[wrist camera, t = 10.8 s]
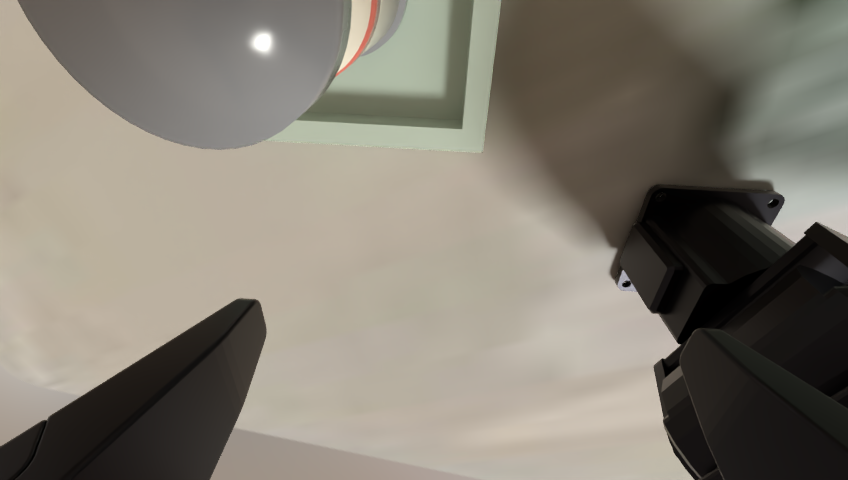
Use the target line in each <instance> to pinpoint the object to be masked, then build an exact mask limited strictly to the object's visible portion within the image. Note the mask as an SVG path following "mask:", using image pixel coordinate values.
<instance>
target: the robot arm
mask: <svg viewBox="0 0 848 480" xmlns="http://www.w3.org/2000/svg"><path fill="white" fill-rule="evenodd" d="M662 192H663V194H662V195H661V197H659V198H656V196H657V194H659V193H662ZM771 200H773V201H772V202H771V203H769V201H771ZM784 201H785V200H784V197H783V196H782V195H780V194H779V193H777V192H775V191H764V190H746V189H729V188H711V187H693V186H676V185H656V186H654V187H652V188H651V189H650V190H649V191H648V193H647V195H646V198H645V201H644V203H643V206H642V209H641V212H640V214H639V217H638V220H637V222H636V223H635V224H634V225H633V226H632V229H631V231H630V234H629V237H628V240H627V242H626V245H625V248H624V251H623V253H622V256H621V259H620V262H619V263H620V268H619V271H618V274H617V276H616V279H615V283H616V285H617V286H618V288H619V289H620V290H623V291H635V292H638V294H639V295H640V297H641V298H642V300H643V301H644V303H645V305H646V306H647V308H648V309H649V310H650V312H651V313H653V314H659V315H660V317H661V318H662V320H663V322H664V323H665V325H666V326H667V328H668V329H669V331H670V332H671V334H672V335H673V337H674V338H675V340H676V341H677V343H678V344H681V345H680V346H679V347H678V348H677V349H676V350H675V351H674V352H672V353H671V354H670V355H669V356H668V357H667V358H666V359H661V360H660V361H659V362H657V363H656V364H655V365H654V372H655V377H656V382H657V387H658V392H659V397H660V402H661V407H662V412H663V417H664V419H663V423H664V428H665V430H666V432H667V435H668V438H669V441H670V444H671V446H672V448H673V451H674V453H675V455H676V456H677V457H678V458H679V460H680V461H681V463H682V464H683V466H684V467H685V469H686V470H687V471H688V472H689V473H690V475H691V476H692V477H693V478H694V480H848V237H847V236H845V235H843V234H841V233H839V232H836V231H834V230H832V229H830V228H828V227H826V226H824V225H822V224H820V223H818V222H815V223H814V224H813V225H812V226H811V227H810V228H809V229H807V230H806V231H805V232H804V234H806V235H805V236H804V237H803V238H802V239H801V240H800V241H799V242H797V243H796V244H795V243H794V242H793V241H791V240H790V239H788V238H787V237H786V236H784V235H783V234H781V233H780V232H779V231H777V230H776V229H774V228H773V227H772V226H771V225H772V223H773V221H774V220H775V218H776V216H777V214H778V213H779V211H780V209H781V208H782V206H783V204H784ZM768 203H769V204H768ZM627 280H628V281H627ZM624 281H627V282H626V283H623V282H624ZM265 338H266V324H265V320H264V316H263V312H262V308H261V304H260V302H259V301H258V300H256V299H243V298H241V299H237V300H235V301H233V302H231V303H230V304H228V305H227V306H225V307H223V308H222V309H220V310H219V311H217V312H215V313H214V314H212V315H211V316H209V317H207V318H206V319H204V320H203V321H201V322H199V323H198V324H196V325H195V326H193V327H191V328H190V329H188V330H187V331H185V332H183V333H182V334H180V335H179V336H177V337H175V338H174V339H172V340H171V341H169V342H167V343H166V344H164V345H163V346H161V347H159V348H158V349H156V350H155V351H153V352H151V353H150V354H148V355H147V356H145V357H143V358H142V359H140V360H139V361H137V362H135V363H134V364H132V365H131V366H129V367H127V368H126V369H124V370H123V371H121V372H119V373H118V374H116V375H115V376H113V377H111V378H110V379H108V380H107V381H105V382H103V383H102V384H100V385H99V386H97V387H95V388H94V389H92V390H91V391H89V392H87V393H86V394H84V395H83V396H81V397H79V398H78V399H76V400H75V401H73V402H71V403H70V404H68V405H67V406H65V407H64V408H62V409H60V410H59V411H57V412H55V413H54V414H52V415H51V416H50V417H48V419H47V420H43V421H41V422H39V423H38V424H36V425H34V426H33V427H31V428H30V429H28V430H26V431H25V432H23V433H22V434H20V435H19V436H17V437H15V438H14V439H12V440H10V441H9V442H7V443H5V444H4V445H2V446H0V480H210V478H211V475H212V474H213V471H214V469H215V467H216V465H217V463H218V460H219V458H220V456H221V454H222V452H223V449H224V447H225V445H226V443H227V441H228V438H229V436H230V434H231V432H232V430H233V428H234V425H235V423H236V421H237V419H238V416H239V414H240V412H241V409H242V407H243V404H244V402H245V399H246V396H247V393H248V390H249V387H250V384H251V381H252V378H253V375H254V372H255V369H256V366H257V363H258V360H259V357H260V354H261V351H262V348H263V345H264V342H265Z"/></svg>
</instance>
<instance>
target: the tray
mask: <svg viewBox="0 0 848 480" xmlns="http://www.w3.org/2000/svg"><path fill="white" fill-rule="evenodd" d="M500 7H501V0H408V1H407V7H406V11H405V14H404V17H403V20H402V22H401V24H400V26H399V28H398V29H397V31H396V32H395V34H394V35H393V36H392V37H391V38H390V39H389V40H388V41H387V42H386V43H385V44H384V45H382V46H381V47H380V48H379V49H377V50H375V51H374V52H372V53H370V54H367V55H365V56H361V57H359V58H358V59H357V60H356V61H355V62H354V63H353V64H351V65H350V66H349V67H348V68H346V69H345V70H344V71H343V72H341V73H340V74H339V75H337V76H336V77H335V78H334V80H333V81H332V83H331V84H330V86H329V87H328V89H327V90H326V92H325V93H324V94H323V95H322V96H321V97H320V98H319V100H318V101H317V102H316V103H315V104H314V105H313V106H311V107H310V108H309V109H308V110H307V111H306V112H304V113H303V114H302V115H301V116H300V117H299V118H297V119H296V120H295V121H294V122H293V123H291V124H290V125H289V126H288V127H286V128H285V129H284V130H283V131H281V132H280V133H278V134H276V135H274V136H272V137H271V138H269V139H267V140H264V141H277V142H295V143H313V144H331V145H349V146H367V147H385V148H403V149H421V150H439V151H457V152H475V153H483V147H484V139H485V130H486V122H487V114H488V106H489V98H490V89H491V81H492V73H493V65H494V57H495V48H496V40H497V32H498V24H499V15H500Z"/></svg>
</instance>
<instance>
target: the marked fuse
mask: <svg viewBox="0 0 848 480" xmlns="http://www.w3.org/2000/svg"><path fill="white" fill-rule="evenodd" d="M407 1H408V0H18V2H19V4H20V6H21V8H22V10H23V11H24V13H25V15H26V17H27V19H28V20H29V22H30V23H31V25H32V26H33V28H34V29H35V31H36V32H37V34H38V35H39V37H40V38H41V40H42V41H43V42H44V44H45V45H46V46H47V48H48V49H49V50H50V51H51V53H52V54H53V55H54V57H55V58H56V59H57V60H58V62H59V63H60V64H61V65H62V66H63V67H64V68H65V69H66V70H67V71H68V73H69V74H70V75H71V76H72V77H73V78H74V79H75V80H76V81H77V82H78V83H79V84H80V85H81V86H82V87H84V88H85V89H86V90H87V91H88V92H89V93H90V94H91V95H92V96H93V97H95V98H96V99H97V100H98V101H100V102H101V103H102V104H103V105H105V106H106V107H107V108H109V109H110V110H111V111H113V112H114V113H116V114H117V115H119V116H120V117H122V118H123V119H125V120H126V121H128V122H130V123H131V124H133V125H135V126H137V127H139V128H141V129H143V130H144V131H146V132H148V133H151V134H153V135H156V136H158V137H160V138H163V139H165V140H168V141H172V142H175V143H178V144H181V145H185V146H191V147H196V148H202V149H217V150H222V149H236V148H241V147H246V146H250V145H254V144H256V143H259V142H262V141H264V140H267V139H269V138H271V137H272V136H274V135H276V134H278V133H280V132H281V131H283V130H284V129H285V128H286V127H288V126H289V125H290V124H291V123H293V122H294V121H295V120H296V119H297V118H299V117H300V116H301V115H302V114H303V113H304V112H306V111H307V110H308V109H309V108H310V107H311V106H313V105H314V104H315V103H316V102H317V101H318V100H319V98H320V97H321V96H322V95H323V94H324V93H325V92H326V90H327V89H328V87H329V86H330V84H331V83H332V81H333V80H334V78H335V77H336V76H337V75H339V74H340V73H341V72H343V71H344V70H345V69H346V68H348V67H349V66H350V65H351V64H353V63H354V62H355V61H356V60H357V59H358V58H359V57H361V56H365V55H367V54H370V53H372V52H374V51H375V50H377V49H379V48H380V47H381V46H382V45H384V44H385V43H386V42H387V41H388V40H389V39H390V38H391V37H392V36H393V35H394V34H395V32H396V31H397V29H398V28H399V26H400V24H401V22H402V20H403V17H404V14H405V11H406V7H407Z"/></svg>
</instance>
